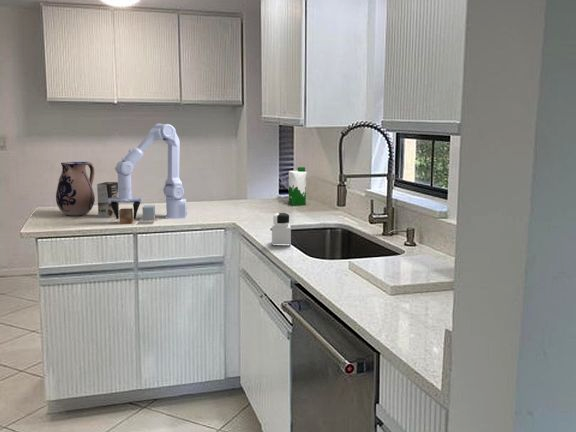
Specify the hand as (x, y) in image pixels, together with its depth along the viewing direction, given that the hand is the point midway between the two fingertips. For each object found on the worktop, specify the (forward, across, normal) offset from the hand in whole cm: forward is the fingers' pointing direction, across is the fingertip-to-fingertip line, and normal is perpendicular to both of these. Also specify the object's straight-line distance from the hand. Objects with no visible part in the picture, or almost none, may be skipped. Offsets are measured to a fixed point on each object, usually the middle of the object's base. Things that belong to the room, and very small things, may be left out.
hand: (126, 218), depth 264 cm
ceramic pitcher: (+2, -27, +25) cm, 37 cm away
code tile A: (+2, 0, 0) cm, 2 cm away
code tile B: (+2, +9, +8) cm, 12 cm away
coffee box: (+2, -11, +17) cm, 20 cm away
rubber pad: (+2, +8, -1) cm, 9 cm away
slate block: (+2, +9, +8) cm, 12 cm away
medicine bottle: (+2, +66, -44) cm, 79 cm away
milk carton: (+2, +82, +46) cm, 94 cm away
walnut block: (+2, 0, 0) cm, 2 cm away
